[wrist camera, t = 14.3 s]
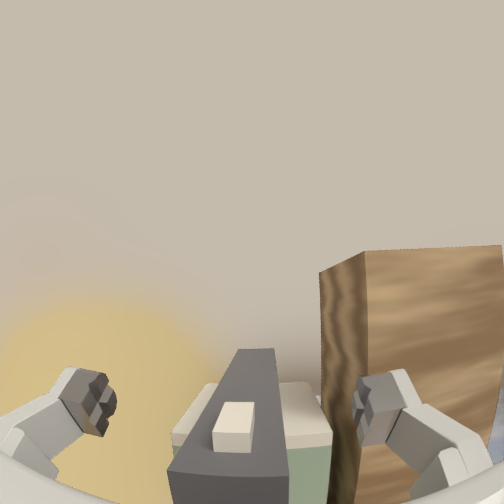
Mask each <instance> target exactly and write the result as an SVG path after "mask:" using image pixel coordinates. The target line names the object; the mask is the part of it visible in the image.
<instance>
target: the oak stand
mask: <svg viewBox="0 0 504 504" xmlns="http://www.w3.org/2000/svg"><path fill="white" fill-rule="evenodd" d="M319 283H320V309H321V409H322V411H323V413H324V415H325V417H326V419H327V421H328V423H329V425H330V427H331V429H332V431H333V437H332V451H331V464H330V475H329V484H328V494H327V502H326V504H402V503H405V502H408V501H411V497H410V493H409V489H410V487H411V486H412V485H413V484H414V483H415V481H416V480H417V479H418V478H419V477H420V475H419V474H418V473H417V472H415V471H414V470H413V469H412V468H411V467H410V466H409V465H408V464H407V463H405V462H404V461H403V460H402V459H401V458H400V457H399V456H398V455H397V454H396V453H394V452H393V451H392V450H391V449H390V448H389V447H388V446H387V445H386V443H383V444H377V445H372V446H365V447H360V444H359V440H358V436H357V432H356V431H357V428H358V425H359V424H358V423H356V422H355V421H354V420H353V416H352V409H351V404H352V396H353V393H354V392H355V391H357V388H356V380H357V378H358V376H360V375H367V374H373V373H380V372H386V371H392V370H398V369H404V370H406V372H407V374H408V376H409V378H410V380H411V382H412V384H413V386H414V388H415V390H416V392H417V394H418V396H419V398H420V400H421V402H422V404H425V403H427V404H428V405H430V406H432V407H433V408H435V409H437V410H438V411H440V412H442V413H443V414H445V415H447V416H448V417H450V418H451V419H453V420H455V421H457V422H458V423H460V424H462V425H463V426H465V427H467V428H468V429H470V430H472V431H473V432H475V433H477V434H479V435H480V437H481V439H482V441H483V443H484V445H485V447H486V449H487V446H488V443H489V439H490V435H491V431H492V427H493V422H494V418H495V413H496V408H497V403H498V397H499V391H500V384H501V376H502V368H503V358H504V265H503V255H502V246H501V245H491V246H469V247H446V248H424V249H402V250H401V249H400V250H379V251H363V252H362V253H360V254H357V255H355V256H354V257H351V258H349V259H347V260H345V261H343V262H341V263H339V264H337V265H335V266H333V267H331V268H328V269H326V270H324V271H322V272H320V273H319Z"/></svg>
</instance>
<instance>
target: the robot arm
mask: <svg viewBox="0 0 504 504" xmlns="http://www.w3.org/2000/svg"><path fill="white" fill-rule="evenodd" d="M108 382H109V380H108V378H107V376H106V374H104V373H101V372H96V371H91V370H86V369H81V368H76V367H71V366H69V367H67V368H66V369H65V370H64V371H63V373H62V374H61V375H60V377H59V378H58V380H57V381H56V383H55V384H54V385H53V387H52V388H51V390H50V391H49V392H48V394H47V395H45V394H43V395H41V396H40V397H38V398H36V399H34V400H32V401H30V402H28V403H27V404H25V405H23V406H21V407H19V408H17V409H15V410H13V411H12V412H10V413H8V414H6V415H4V416H2V417H0V504H119V503H115V502H112V501H109V500H106V499H103V498H99V497H96V496H94V495H91V494H88V493H85V492H83V491H80V490H78V489H75V488H73V487H70V486H68V485H65V484H63V483H61V482H58V481H56V480H55V479H56V477H57V475H58V472H59V470H58V468H57V467H56V466H55V465H54V464H53V463H52V462H51V461H50V460H51V459H53V458H54V457H55V456H57V455H58V454H59V453H60V452H62V451H63V450H64V449H65V448H66V447H68V446H69V445H70V444H72V443H73V442H74V441H75V440H77V439H78V438H79V437H80V436H82V435H83V433H87V434H91V435H95V436H99V437H103V436H104V434H105V432H106V429H107V427H108V425H109V421H108V418H109V417H110V416H112V415H113V414H114V412H115V409H116V404H117V399H116V394H115V392H114V390H113V389H112V388H111V387H110V386H108ZM356 388H357V391H355V392H354V393H353V396H352V404H351V409H352V416H353V420H354V421H355V422H356V423H358V424H359V425H358V428H357V431H356V432H357V436H358V440H359V444H360V447H365V446H372V445H377V444H383V443H386V445H387V446H388V447H389V448H390V449H391V450H392V451H393V452H394V453H396V454H397V455H398V456H399V457H400V458H401V459H402V460H403V461H404V462H405V463H407V464H408V465H409V466H410V467H411V468H412V469H413V470H414V471H415V472H417V473H418V474H419V475H420V477H419V478H418V479H417V480H416V481H415V483H414V484H413V485H412V486H411V487H410V489H409V493H410V497H411V501H408V502H405V503H402V504H504V460H503V461H501V462H499V463H497V464H495V465H494V464H493V462H492V460H491V458H490V455H489V453H488V451H487V449H486V447H485V445H484V443H483V441H482V439H481V437H480V435H479V434H477V433H475V432H473V431H472V430H470V429H468V428H467V427H465V426H463V425H462V424H460V423H458V422H457V421H455V420H453V419H451V418H450V417H448V416H447V415H445V414H443V413H442V412H440V411H438V410H437V409H435V408H433V407H432V406H430V405H428V404H427V403H425V404H422V402H421V400H420V398H419V396H418V394H417V392H416V390H415V388H414V386H413V384H412V382H411V380H410V378H409V376H408V374H407V372H406V370H404V369H398V370H392V371H386V372H380V373H373V374H367V375H360V376H358V378H357V380H356Z"/></svg>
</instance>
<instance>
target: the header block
mask: <svg viewBox="0 0 504 504" xmlns="http://www.w3.org/2000/svg"><path fill="white" fill-rule="evenodd" d="M217 386H218V384H215V383H207V384H206V385H205V387H204V388H203V390H202V391H201V392H200V394H199V395H198V397H197V398H196V399H195V401H194V402H193V403H192V405H191V406H190V407H189V409H188V410H187V411H186V413H185V414H184V415H183V417H182V418H181V419H180V421H179V422H178V424H177V425H176V426H175V427H174V429H173V430H172V431H171V440H172V447H173V453H174V458H175V456H176V454H177V453H178V451H179V450H180V448H181V446H182V445H183V443H184V441H185V440H186V438H187V437H188V435H189V433H190V432H191V430H192V428H193V427H194V425H195V423H196V422H197V420H198V418H199V417H200V415H201V413H202V412H203V410H204V408H205V407H206V405H207V403H208V401H209V400H210V398H211V396H212V395H213V393H214V391H215V390H216V388H217ZM279 391H280V399H281V408H282V416H283V425H284V433H285V442H286V450H287V459H288V468H289V504H326V502H327V494H328V484H329V475H330V464H331V451H332V437H333V431H332V429H331V427H330V425H329V423H328V421H327V419H326V417H325V415H324V413H323V411H322V409H321V407H320V405H319V403H318V401H317V398H316V396H315V394H314V392H313V390H312V388H311V386H310V384H309V382H308V381H304V382H288V383H279Z"/></svg>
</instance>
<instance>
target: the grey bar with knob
mask: <svg viewBox="0 0 504 504" xmlns="http://www.w3.org/2000/svg"><path fill="white" fill-rule="evenodd" d="M167 475H168V479H169V485H170V490H171V495H172V499H173V503H174V504H289V468H288V459H287V450H286V442H285V433H284V425H283V416H282V408H281V399H280V391H279V383H278V375H277V367H276V359H275V351H274V348H269V349H238V351H237V353H236V355H235V356H234V358H233V360H232V362H231V364H230V365H229V367H228V369H227V370H226V372H225V374H224V376H223V377H222V379H221V381H220V383H219V384H218V386H217V388H216V390H215V391H214V393H213V395H212V396H211V398H210V400H209V401H208V403H207V405H206V407H205V408H204V410H203V412H202V413H201V415H200V417H199V418H198V420H197V422H196V423H195V425H194V427H193V428H192V430H191V432H190V433H189V435H188V437H187V438H186V440H185V441H184V443H183V445H182V446H181V448H180V450H179V451H178V453H177V454H176V456H175V458H174V459H173V461H172V463H171V464H170V466H169V467H168V469H167Z"/></svg>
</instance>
